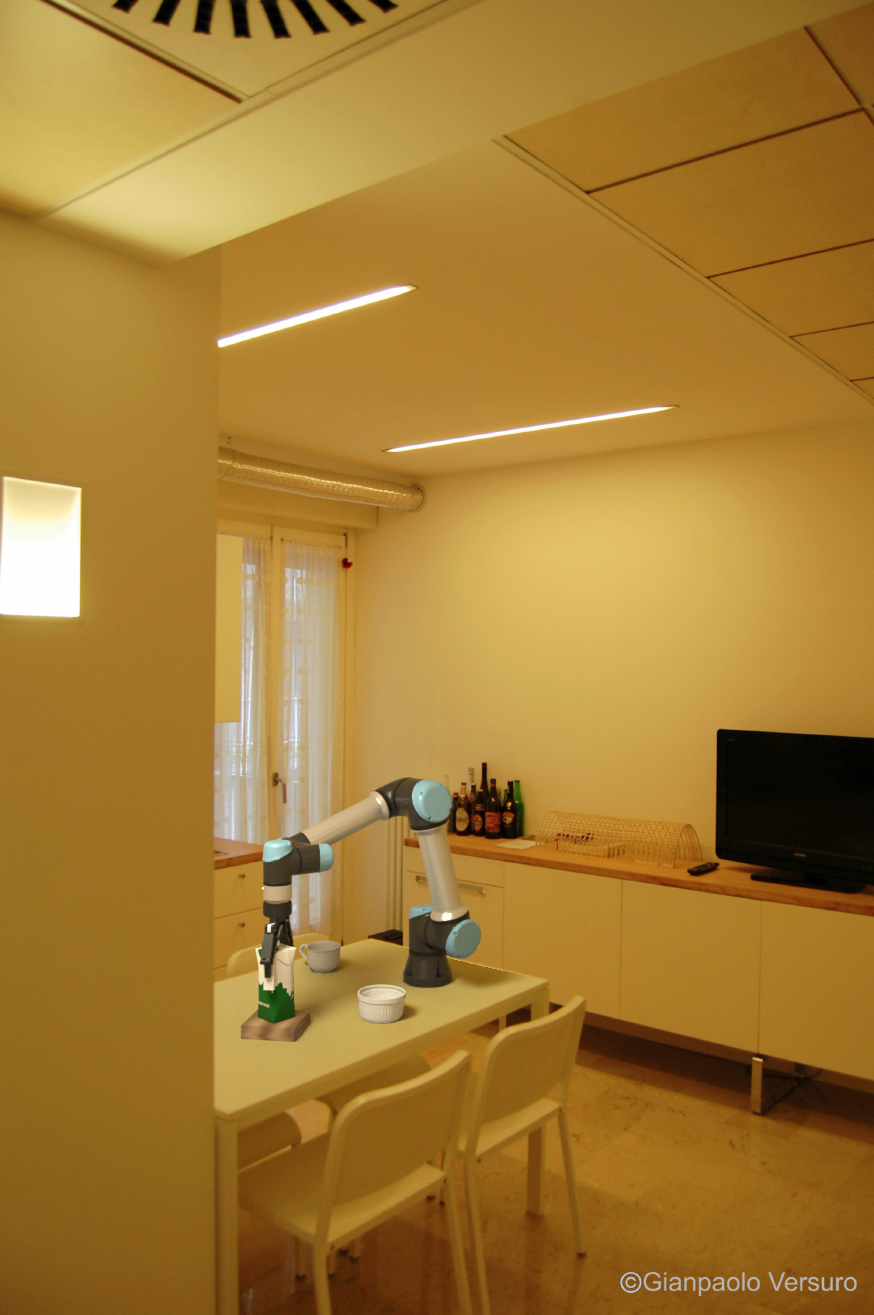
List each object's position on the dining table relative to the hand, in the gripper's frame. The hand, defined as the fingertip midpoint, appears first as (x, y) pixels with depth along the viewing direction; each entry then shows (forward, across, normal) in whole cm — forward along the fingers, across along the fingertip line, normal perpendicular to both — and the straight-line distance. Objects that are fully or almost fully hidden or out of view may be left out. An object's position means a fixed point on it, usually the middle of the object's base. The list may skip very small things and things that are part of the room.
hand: (277, 982), depth 251 cm
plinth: (+13, 0, 0) cm, 13 cm away
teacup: (+13, -56, -4) cm, 57 cm away
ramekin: (+13, -15, +25) cm, 32 cm away
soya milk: (+9, 0, 0) cm, 9 cm away
